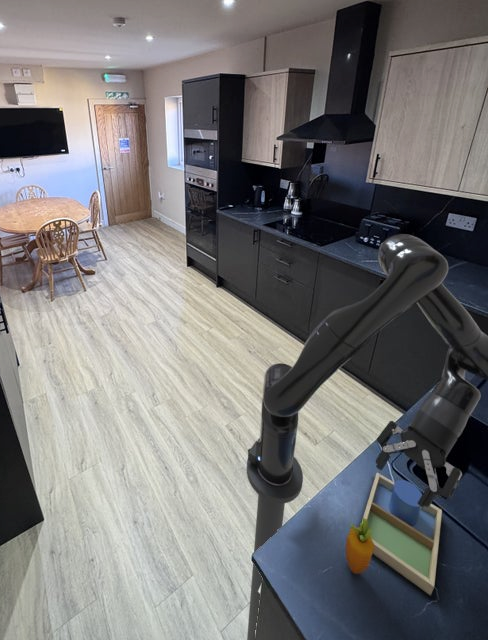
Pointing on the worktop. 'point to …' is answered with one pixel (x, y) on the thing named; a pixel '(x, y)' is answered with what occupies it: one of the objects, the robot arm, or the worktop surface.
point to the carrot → (359, 547)
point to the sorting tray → (404, 537)
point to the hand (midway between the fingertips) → (398, 486)
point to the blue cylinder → (405, 502)
